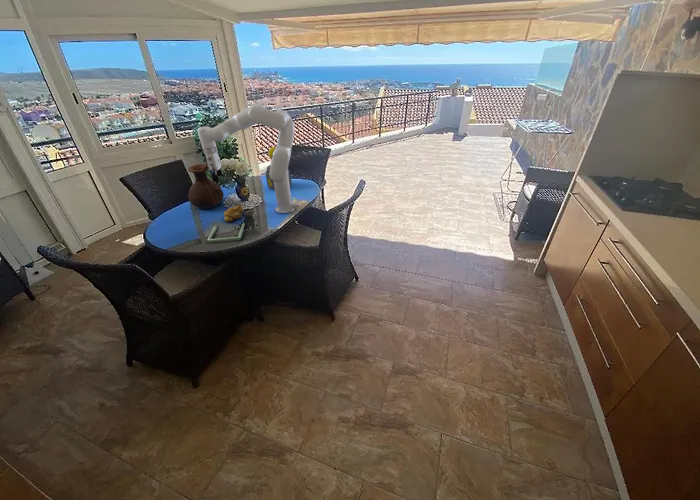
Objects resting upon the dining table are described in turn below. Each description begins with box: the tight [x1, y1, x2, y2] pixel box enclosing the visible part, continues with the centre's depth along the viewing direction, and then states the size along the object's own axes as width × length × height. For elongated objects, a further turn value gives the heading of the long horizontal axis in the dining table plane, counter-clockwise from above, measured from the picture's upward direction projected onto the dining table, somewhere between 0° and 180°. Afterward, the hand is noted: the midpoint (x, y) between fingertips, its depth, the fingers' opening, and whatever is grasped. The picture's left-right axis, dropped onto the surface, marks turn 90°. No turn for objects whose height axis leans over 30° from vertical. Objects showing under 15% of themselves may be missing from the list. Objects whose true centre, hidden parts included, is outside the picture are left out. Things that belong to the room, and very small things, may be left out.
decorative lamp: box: [265, 146, 292, 191], centre depth 221 cm, size 19×19×30 cm
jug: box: [187, 163, 225, 210], centre depth 194 cm, size 22×22×30 cm
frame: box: [206, 222, 246, 244], centre depth 168 cm, size 17×17×2 cm
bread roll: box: [223, 204, 244, 223], centre depth 181 cm, size 13×10×8 cm
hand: (218, 178), depth 178 cm, fingers open, 9 cm apart
